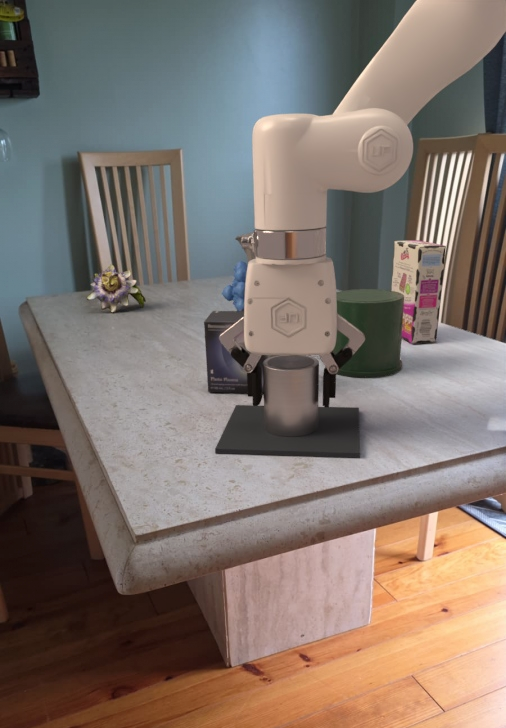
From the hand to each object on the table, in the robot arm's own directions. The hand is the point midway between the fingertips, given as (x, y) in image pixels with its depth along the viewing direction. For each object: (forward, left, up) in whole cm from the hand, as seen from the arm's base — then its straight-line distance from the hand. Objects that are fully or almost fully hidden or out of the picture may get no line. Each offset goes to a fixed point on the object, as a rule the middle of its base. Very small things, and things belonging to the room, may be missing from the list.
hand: (291, 401), depth 73 cm
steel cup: (0, 0, -3) cm, 3 cm away
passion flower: (+47, -71, -4) cm, 85 cm away
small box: (+8, -16, -4) cm, 18 cm away
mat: (0, 0, -4) cm, 4 cm away
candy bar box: (-18, -46, -4) cm, 50 cm away
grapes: (+16, -58, -4) cm, 60 cm away
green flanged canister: (-9, -27, -4) cm, 29 cm away
